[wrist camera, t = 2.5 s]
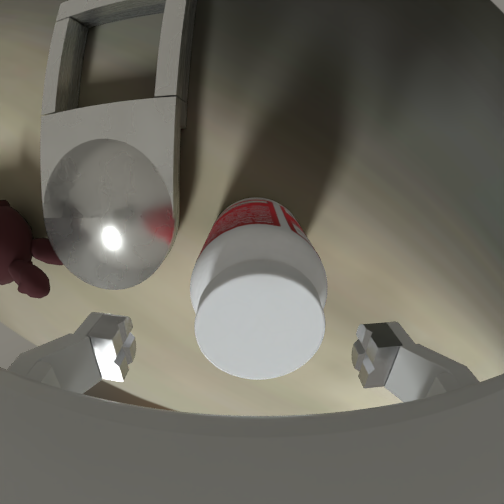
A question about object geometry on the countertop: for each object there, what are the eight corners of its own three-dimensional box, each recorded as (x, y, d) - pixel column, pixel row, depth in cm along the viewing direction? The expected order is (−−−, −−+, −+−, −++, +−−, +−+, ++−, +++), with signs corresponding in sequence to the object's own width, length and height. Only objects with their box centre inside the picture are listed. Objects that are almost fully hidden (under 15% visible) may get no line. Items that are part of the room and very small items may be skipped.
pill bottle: (198, 260, 21) (153, 361, 11) (233, 181, 19) (209, 218, 9) (276, 293, 22) (293, 407, 11) (316, 219, 20) (378, 294, 10)
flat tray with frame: (106, -64, 11) (94, -79, 8) (212, -85, 11) (208, -104, 8) (73, 268, 21) (54, 283, 18) (186, 276, 21) (176, 295, 19)
